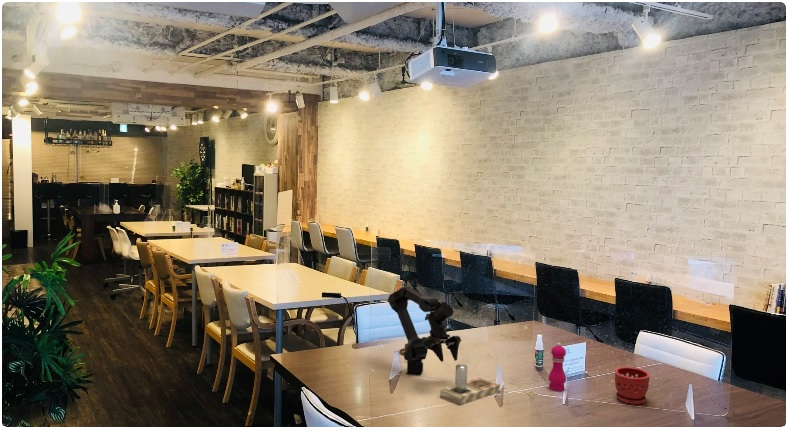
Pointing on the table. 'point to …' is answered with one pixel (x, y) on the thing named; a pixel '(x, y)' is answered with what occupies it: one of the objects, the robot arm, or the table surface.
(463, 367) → the silver metal cylinder
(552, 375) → the pepper mill
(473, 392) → the socket board
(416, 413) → the table surface
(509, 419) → the table surface
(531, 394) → the table surface
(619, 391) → the plant pot
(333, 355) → the table surface
